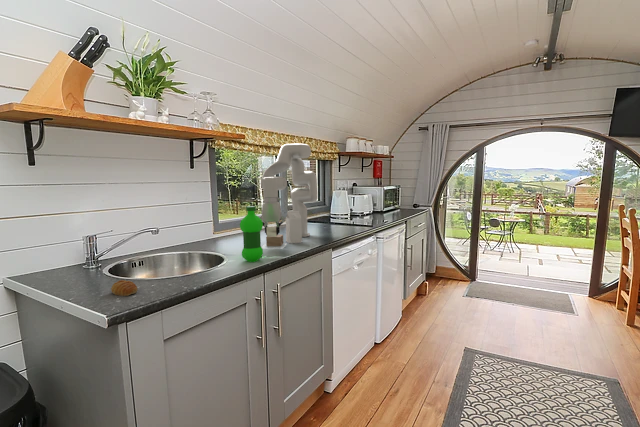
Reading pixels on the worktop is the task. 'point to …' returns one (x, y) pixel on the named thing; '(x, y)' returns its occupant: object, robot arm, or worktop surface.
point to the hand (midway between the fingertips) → (272, 233)
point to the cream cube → (271, 231)
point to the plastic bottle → (251, 235)
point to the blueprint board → (274, 246)
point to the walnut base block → (274, 240)
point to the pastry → (124, 288)
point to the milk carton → (293, 227)
